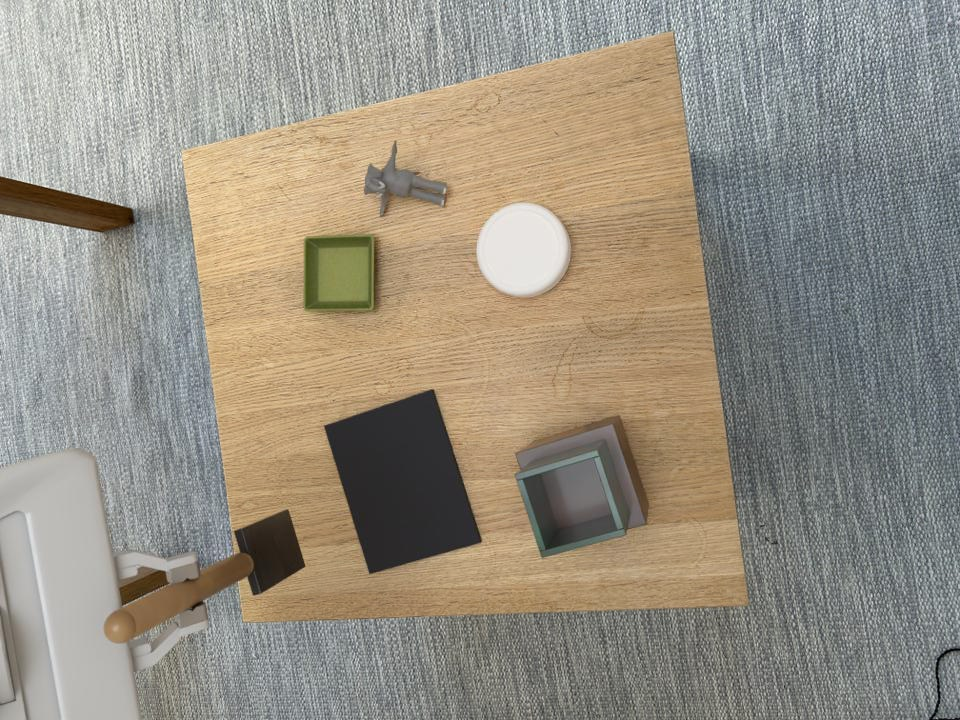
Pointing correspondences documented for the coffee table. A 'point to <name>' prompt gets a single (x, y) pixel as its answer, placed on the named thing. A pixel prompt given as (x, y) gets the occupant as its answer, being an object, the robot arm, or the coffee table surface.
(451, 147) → the coffee table surface
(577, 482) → the open box
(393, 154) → the elephant figurine
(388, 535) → the mat
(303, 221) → the coffee table surface
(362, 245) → the green square dish
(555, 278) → the white round tub
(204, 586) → the spatula
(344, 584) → the coffee table surface
